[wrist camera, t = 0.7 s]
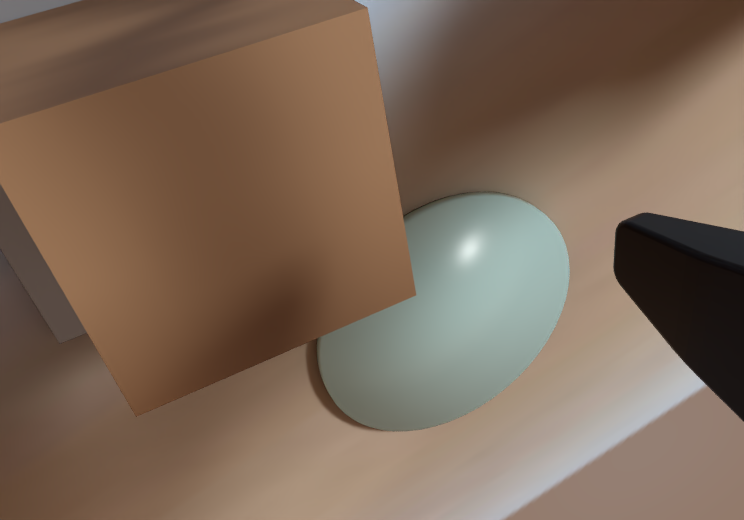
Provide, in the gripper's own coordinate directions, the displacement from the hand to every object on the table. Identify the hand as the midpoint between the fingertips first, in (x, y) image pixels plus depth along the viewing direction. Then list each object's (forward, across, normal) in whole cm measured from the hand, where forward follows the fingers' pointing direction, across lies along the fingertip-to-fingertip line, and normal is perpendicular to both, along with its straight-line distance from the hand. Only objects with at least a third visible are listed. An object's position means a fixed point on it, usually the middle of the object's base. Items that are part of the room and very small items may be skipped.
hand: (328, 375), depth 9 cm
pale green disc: (+10, -6, +11) cm, 16 cm away
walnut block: (+10, 0, 0) cm, 10 cm away
